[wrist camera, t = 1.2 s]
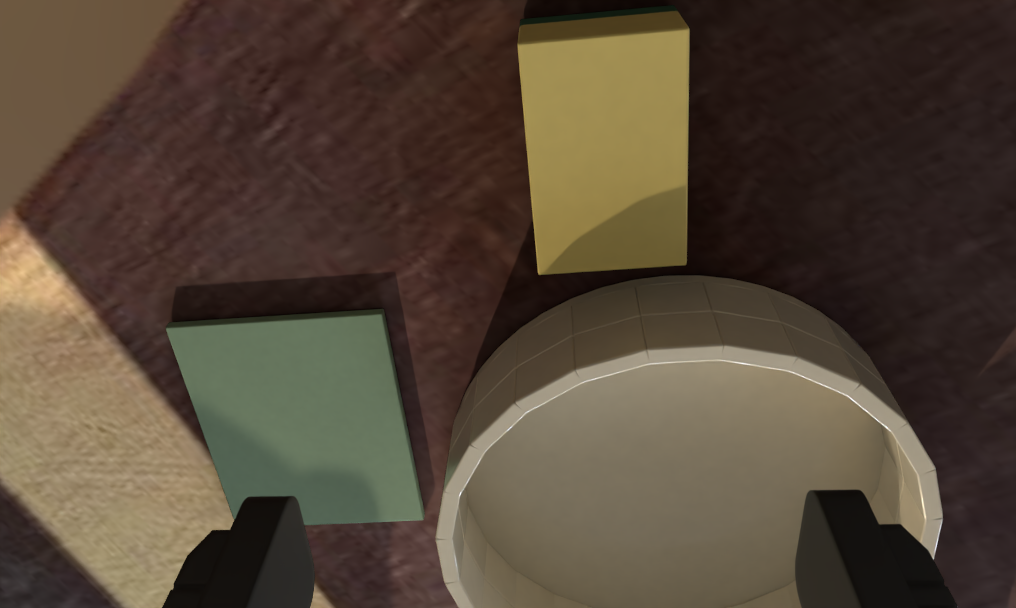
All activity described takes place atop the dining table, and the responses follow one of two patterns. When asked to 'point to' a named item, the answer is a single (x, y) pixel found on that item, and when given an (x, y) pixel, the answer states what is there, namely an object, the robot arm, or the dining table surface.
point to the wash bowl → (667, 451)
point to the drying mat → (303, 412)
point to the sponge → (607, 138)
